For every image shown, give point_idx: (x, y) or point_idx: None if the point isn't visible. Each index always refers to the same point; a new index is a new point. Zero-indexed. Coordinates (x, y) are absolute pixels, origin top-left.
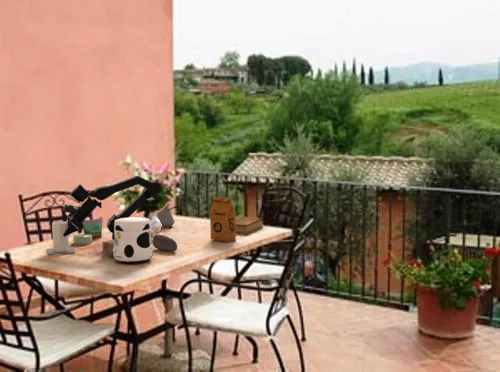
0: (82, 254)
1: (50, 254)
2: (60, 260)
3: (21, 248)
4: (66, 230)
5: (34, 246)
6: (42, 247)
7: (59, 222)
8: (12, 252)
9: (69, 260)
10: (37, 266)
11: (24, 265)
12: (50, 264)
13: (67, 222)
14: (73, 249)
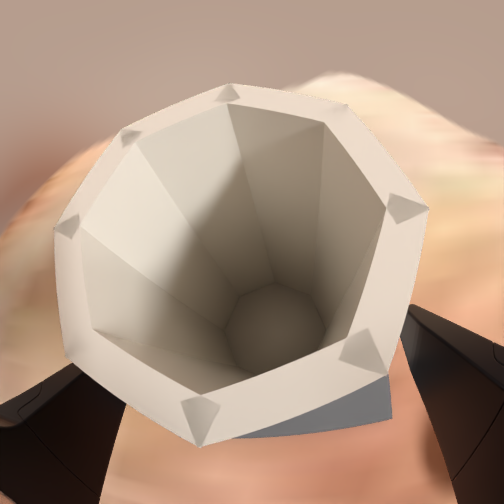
0: (143, 473)
1: None
2: (46, 328)
3: (406, 104)
4: (56, 377)
5: (457, 152)
6: (437, 191)
7: (373, 199)
8: (317, 82)
9: (34, 373)
10: (11, 234)
11: (45, 183)
12: (11, 281)
13: (200, 446)
14: (286, 429)
